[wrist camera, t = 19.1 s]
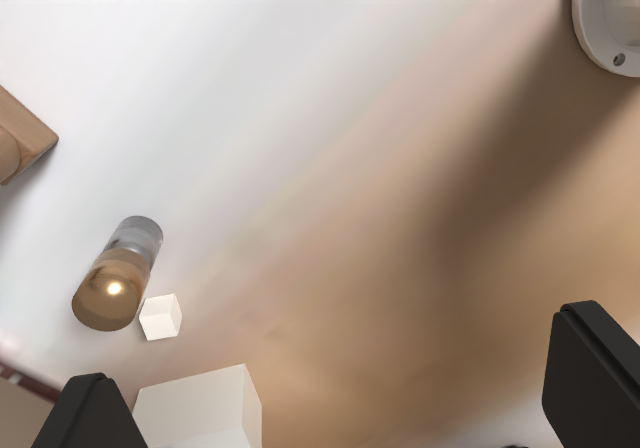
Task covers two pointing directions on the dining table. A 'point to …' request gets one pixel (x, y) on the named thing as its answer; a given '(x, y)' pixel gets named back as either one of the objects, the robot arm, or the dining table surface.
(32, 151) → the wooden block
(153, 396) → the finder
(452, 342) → the dining table surface
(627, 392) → the robot arm
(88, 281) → the peg
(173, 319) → the rounded white cube
